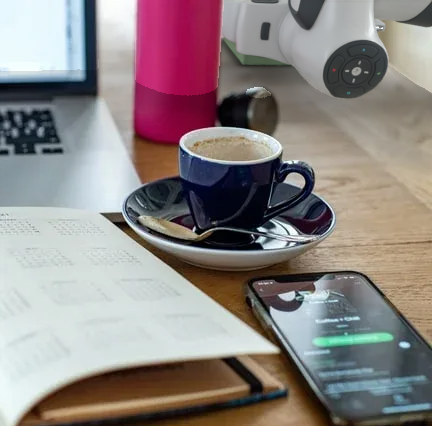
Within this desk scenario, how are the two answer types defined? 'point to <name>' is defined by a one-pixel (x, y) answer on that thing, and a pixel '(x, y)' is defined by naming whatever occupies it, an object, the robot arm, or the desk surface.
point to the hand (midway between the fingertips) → (277, 0)
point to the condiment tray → (251, 57)
